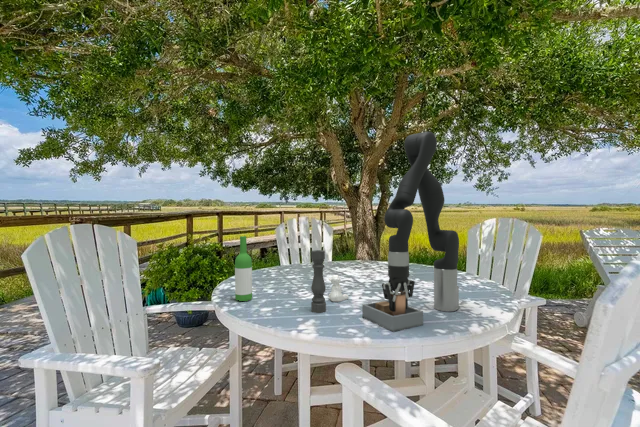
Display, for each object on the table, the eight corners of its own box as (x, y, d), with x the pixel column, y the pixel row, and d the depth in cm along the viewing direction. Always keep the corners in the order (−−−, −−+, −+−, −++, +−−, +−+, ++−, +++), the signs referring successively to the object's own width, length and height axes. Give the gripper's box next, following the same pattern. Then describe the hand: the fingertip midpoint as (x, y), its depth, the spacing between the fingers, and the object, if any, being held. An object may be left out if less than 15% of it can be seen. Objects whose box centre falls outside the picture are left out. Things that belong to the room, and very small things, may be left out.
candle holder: (321, 313, 135) (320, 252, 134) (308, 311, 138) (307, 251, 138) (328, 309, 140) (328, 250, 140) (316, 307, 143) (315, 249, 143)
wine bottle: (253, 297, 160) (253, 235, 160) (250, 302, 152) (249, 237, 152) (237, 297, 160) (237, 235, 160) (233, 302, 153) (232, 237, 152)
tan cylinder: (408, 314, 121) (408, 295, 121) (398, 316, 118) (397, 297, 118) (399, 310, 125) (399, 292, 125) (388, 312, 123) (388, 294, 123)
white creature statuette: (348, 298, 158) (348, 273, 158) (345, 303, 149) (345, 276, 149) (329, 297, 160) (329, 272, 160) (324, 302, 152) (324, 276, 152)
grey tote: (390, 311, 137) (390, 299, 137) (423, 325, 121) (422, 311, 121) (362, 317, 130) (362, 304, 130) (393, 331, 114) (392, 317, 114)
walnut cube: (394, 317, 128) (393, 304, 128) (383, 319, 125) (383, 306, 125) (385, 313, 132) (385, 301, 132) (375, 315, 130) (375, 302, 130)
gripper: (389, 266, 115) (390, 315, 115) (420, 263, 122) (420, 309, 122) (376, 263, 121) (376, 310, 122) (406, 260, 128) (406, 304, 128)
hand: (398, 309), depth 122 cm, fingers closed on tan cylinder, 5 cm apart
